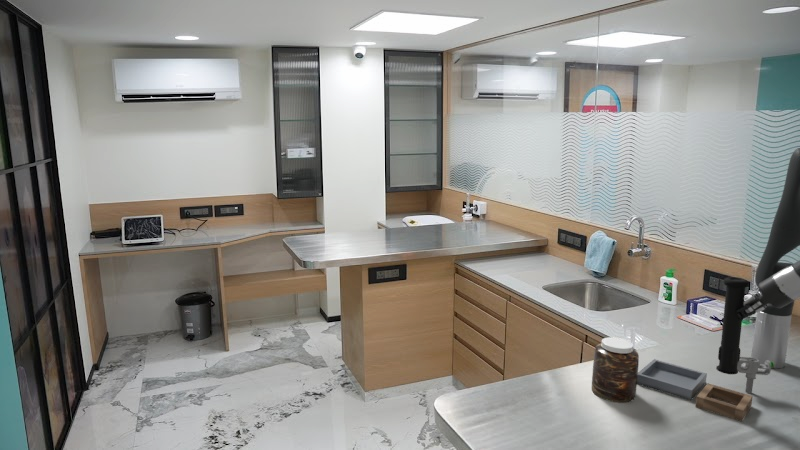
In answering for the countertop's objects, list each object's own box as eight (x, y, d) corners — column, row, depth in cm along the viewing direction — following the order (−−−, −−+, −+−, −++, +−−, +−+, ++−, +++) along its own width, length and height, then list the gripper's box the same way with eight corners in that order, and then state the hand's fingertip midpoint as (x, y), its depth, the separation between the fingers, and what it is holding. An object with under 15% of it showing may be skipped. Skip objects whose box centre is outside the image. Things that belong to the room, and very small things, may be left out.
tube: (751, 282, 141) (746, 277, 146) (725, 280, 143) (722, 275, 148) (741, 376, 145) (737, 367, 150) (717, 373, 147) (713, 364, 152)
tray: (653, 368, 176) (654, 359, 175) (705, 383, 166) (706, 373, 165) (635, 383, 165) (636, 374, 164) (690, 400, 155) (691, 390, 154)
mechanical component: (770, 396, 158) (775, 363, 156) (730, 392, 160) (734, 359, 158) (766, 391, 161) (770, 359, 159) (727, 388, 163) (731, 355, 161)
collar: (706, 393, 159) (707, 383, 159) (751, 406, 152) (752, 395, 151) (695, 406, 151) (696, 396, 151) (742, 421, 144) (743, 410, 143)
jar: (636, 388, 162) (640, 339, 159) (634, 406, 151) (639, 354, 149) (593, 380, 166) (597, 332, 164) (589, 397, 156) (592, 346, 153)
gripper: (779, 269, 145) (721, 304, 155) (769, 279, 135) (708, 316, 145) (801, 293, 142) (741, 327, 153) (792, 305, 132) (728, 340, 143)
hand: (725, 321), depth 149 cm, fingers closed on tube, 1 cm apart
